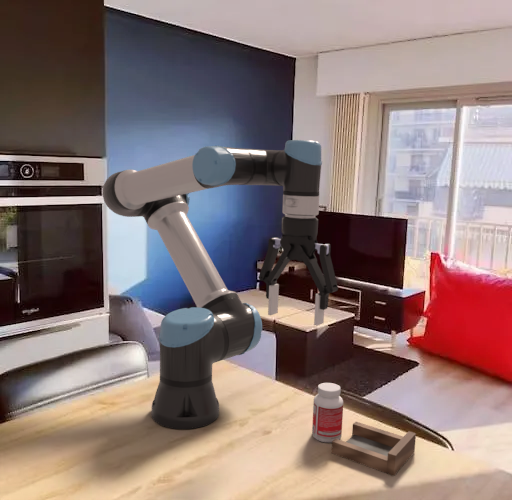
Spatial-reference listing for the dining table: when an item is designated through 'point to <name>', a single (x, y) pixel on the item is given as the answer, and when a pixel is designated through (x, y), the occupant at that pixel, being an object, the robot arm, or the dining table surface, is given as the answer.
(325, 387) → the pill bottle
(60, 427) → the dining table surface
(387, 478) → the dining table surface
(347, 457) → the tray
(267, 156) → the robot arm
